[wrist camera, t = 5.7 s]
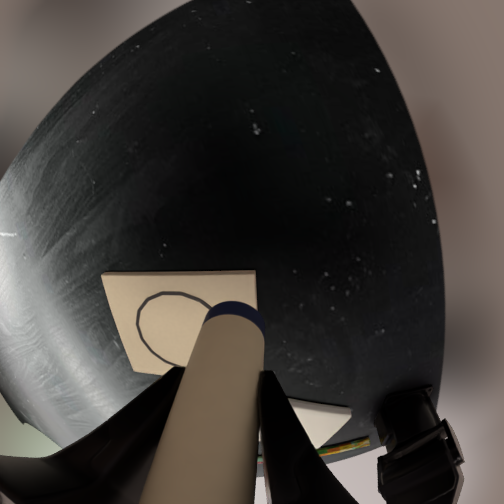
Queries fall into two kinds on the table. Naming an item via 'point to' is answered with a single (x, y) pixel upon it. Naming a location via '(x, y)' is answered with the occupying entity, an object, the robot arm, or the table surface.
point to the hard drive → (319, 419)
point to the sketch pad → (169, 311)
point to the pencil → (337, 448)
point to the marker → (213, 416)
